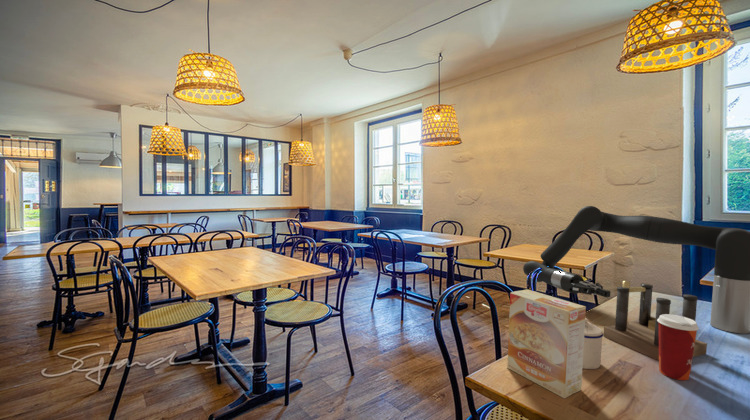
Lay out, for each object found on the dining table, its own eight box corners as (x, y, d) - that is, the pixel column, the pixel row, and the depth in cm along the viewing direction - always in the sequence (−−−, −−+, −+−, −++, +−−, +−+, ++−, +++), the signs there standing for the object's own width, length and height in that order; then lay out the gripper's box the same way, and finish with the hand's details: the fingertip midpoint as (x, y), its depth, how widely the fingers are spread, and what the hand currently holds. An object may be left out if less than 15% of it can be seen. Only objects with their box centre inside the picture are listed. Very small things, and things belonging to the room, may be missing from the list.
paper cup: (703, 384, 80) (707, 326, 79) (665, 380, 82) (669, 323, 81) (680, 367, 88) (684, 314, 87) (646, 364, 89) (650, 311, 89)
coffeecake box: (506, 368, 87) (509, 292, 85) (524, 361, 90) (527, 288, 89) (564, 399, 74) (568, 311, 73) (582, 390, 77) (587, 305, 76)
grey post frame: (643, 321, 110) (646, 278, 109) (652, 325, 107) (655, 281, 106) (616, 324, 108) (619, 280, 107) (625, 327, 105) (628, 282, 104)
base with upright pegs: (642, 329, 112) (645, 282, 111) (706, 354, 96) (710, 298, 95) (603, 336, 106) (606, 286, 105) (664, 362, 90) (668, 304, 89)
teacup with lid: (608, 364, 89) (610, 320, 88) (590, 374, 84) (592, 327, 84) (562, 346, 99) (564, 306, 99) (544, 353, 94) (546, 312, 94)
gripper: (554, 273, 133) (595, 285, 117) (580, 271, 137) (623, 282, 121) (553, 292, 134) (594, 306, 117) (579, 289, 138) (622, 303, 122)
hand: (608, 294), depth 119 cm, fingers closed
